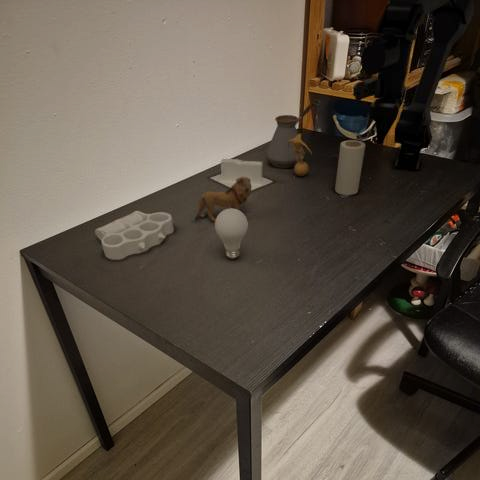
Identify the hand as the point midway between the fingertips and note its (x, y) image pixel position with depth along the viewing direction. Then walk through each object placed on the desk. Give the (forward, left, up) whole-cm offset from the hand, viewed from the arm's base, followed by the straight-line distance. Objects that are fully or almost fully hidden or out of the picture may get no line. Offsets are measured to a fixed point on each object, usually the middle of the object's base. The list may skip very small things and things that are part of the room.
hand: (382, 137), depth 106 cm
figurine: (0, -21, -13) cm, 24 cm away
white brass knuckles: (+45, -47, -13) cm, 66 cm away
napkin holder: (+7, -36, -13) cm, 39 cm away
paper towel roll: (+5, -3, -7) cm, 9 cm away
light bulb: (+45, -23, -13) cm, 52 cm away
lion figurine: (+28, -32, -13) cm, 44 cm away
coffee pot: (-13, -26, -13) cm, 31 cm away
